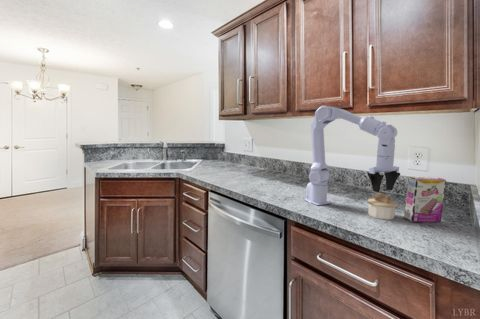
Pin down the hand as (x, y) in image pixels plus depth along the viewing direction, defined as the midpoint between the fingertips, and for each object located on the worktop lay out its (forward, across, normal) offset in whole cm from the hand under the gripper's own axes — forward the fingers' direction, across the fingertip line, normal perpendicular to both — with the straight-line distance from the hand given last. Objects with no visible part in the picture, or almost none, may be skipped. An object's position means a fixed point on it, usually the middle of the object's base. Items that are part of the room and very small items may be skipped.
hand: (382, 190), depth 99 cm
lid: (+5, 0, 0) cm, 5 cm away
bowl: (+10, 0, 0) cm, 10 cm away
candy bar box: (+10, +10, -10) cm, 17 cm away
